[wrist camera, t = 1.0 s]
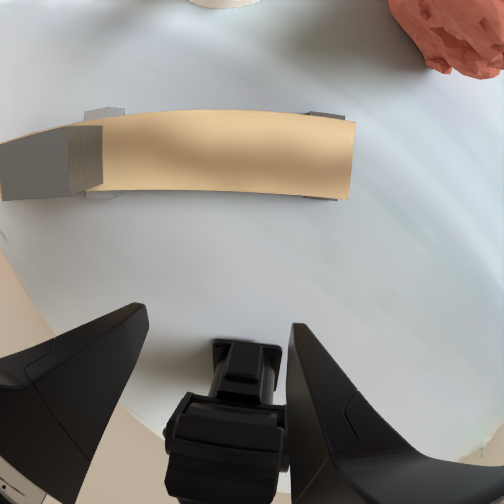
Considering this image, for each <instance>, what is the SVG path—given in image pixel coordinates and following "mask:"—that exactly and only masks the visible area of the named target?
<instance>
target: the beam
mask: <svg viewBox="0 0 504 504" xmlns="http://www.w3.org/2000/svg"><path fill="white" fill-rule="evenodd" d="M78 125H103V132H102V154H103V184H100V185H98V186H95V187H92V188H90V189H87V190H85V191H104V190H214V191H239V192H259V193H275V194H289V195H302V196H314V197H325V198H335V199H345V200H348V194H349V186H350V177H351V168H352V158H353V147H354V135H355V122H352V121H346V120H340V119H334V118H327V117H319V116H312V115H303V114H293V113H282V112H269V111H251V110H182V111H164V112H151V113H140V114H131V115H123V116H115V117H108V118H102V119H95V120H90V121H84V122H79V123H74V124H69V125H64V126H78ZM64 126H60V127H64ZM60 127H55V128H60ZM55 128H51V129H55ZM51 129H47V130H51ZM47 130H43V131H47ZM43 131H39V132H43ZM39 132H35V133H39ZM35 133H32V134H35ZM28 135H31V134H28ZM28 135H24V136H28ZM24 136H21V137H24ZM21 137H18V138H21ZM14 139H17V138H14ZM14 139H11V140H14ZM11 140H8V141H11ZM8 141H5V142H8ZM5 142H2V143H5ZM2 143H0V144H2ZM0 198H2V192H1V182H0Z"/></svg>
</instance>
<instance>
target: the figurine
mask: <svg viewBox="0 0 504 504" xmlns="http://www.w3.org/2000/svg"><path fill="white" fill-rule="evenodd" d="M189 1H191V2H192V3H194V4H197V5H199V6H202V7H207V8H215V9H228V8H237V7H242V6H246V5H249V4H253V3H256V2H258V1H260V0H189Z"/></svg>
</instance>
